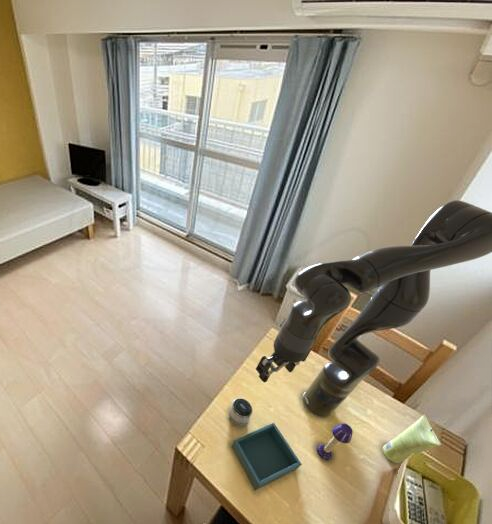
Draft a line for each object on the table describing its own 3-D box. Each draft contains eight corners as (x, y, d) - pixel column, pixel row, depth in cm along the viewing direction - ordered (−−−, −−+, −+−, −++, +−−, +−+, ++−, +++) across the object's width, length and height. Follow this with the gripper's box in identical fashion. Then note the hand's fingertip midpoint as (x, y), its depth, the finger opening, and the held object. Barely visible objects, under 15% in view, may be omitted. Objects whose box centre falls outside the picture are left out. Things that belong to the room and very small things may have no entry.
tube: (406, 458, 90) (449, 433, 78) (399, 469, 88) (441, 445, 75) (386, 441, 94) (424, 414, 81) (378, 451, 92) (416, 425, 79)
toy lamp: (311, 446, 93) (333, 424, 82) (322, 440, 94) (345, 417, 83) (324, 462, 89) (349, 441, 79) (335, 455, 91) (361, 434, 80)
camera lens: (240, 431, 96) (245, 420, 91) (224, 416, 100) (228, 405, 95) (251, 417, 99) (256, 407, 94) (235, 403, 103) (240, 392, 98)
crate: (269, 429, 96) (273, 422, 93) (295, 470, 88) (302, 464, 84) (230, 446, 93) (234, 440, 89) (254, 491, 84) (259, 485, 80)
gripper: (281, 361, 66) (262, 395, 77) (330, 342, 70) (306, 377, 80) (260, 335, 72) (245, 370, 82) (306, 319, 75) (286, 355, 86)
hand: (275, 374), depth 81 cm, fingers open, 8 cm apart
